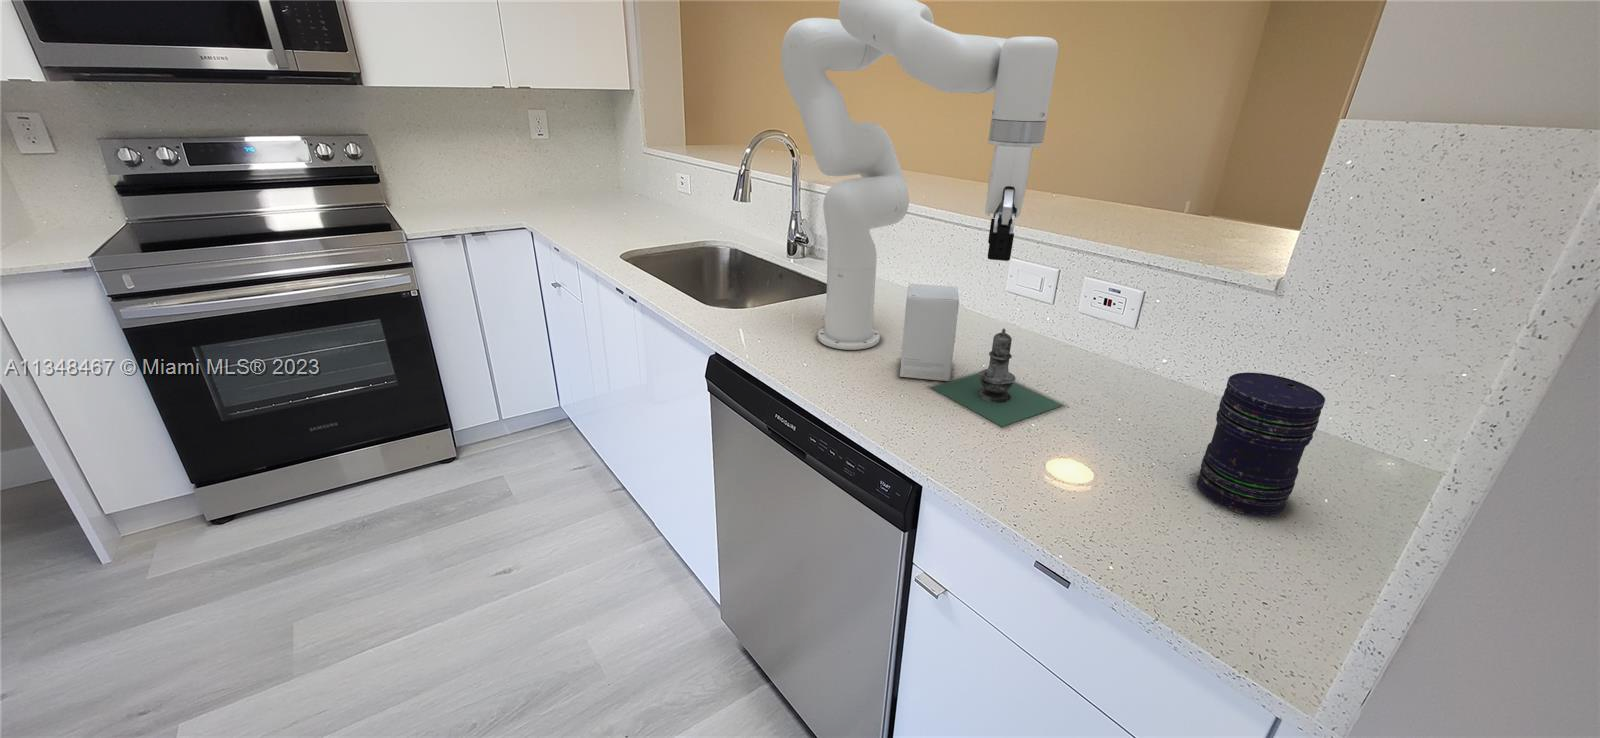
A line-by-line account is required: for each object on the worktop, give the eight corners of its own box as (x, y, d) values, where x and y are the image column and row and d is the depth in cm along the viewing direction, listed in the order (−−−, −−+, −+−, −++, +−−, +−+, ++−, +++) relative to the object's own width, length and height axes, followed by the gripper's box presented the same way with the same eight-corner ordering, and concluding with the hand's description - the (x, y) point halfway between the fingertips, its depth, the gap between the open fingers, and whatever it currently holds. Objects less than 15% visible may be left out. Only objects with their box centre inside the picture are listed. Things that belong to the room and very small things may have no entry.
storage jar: (1251, 525, 77) (1291, 414, 71) (1178, 482, 85) (1208, 379, 79) (1303, 506, 81) (1346, 399, 75) (1228, 466, 89) (1261, 367, 83)
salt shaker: (993, 406, 105) (1003, 337, 100) (968, 392, 109) (977, 325, 104) (1020, 399, 107) (1031, 331, 102) (995, 385, 112) (1004, 320, 107)
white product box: (950, 382, 113) (960, 300, 107) (899, 377, 114) (905, 296, 108) (950, 363, 121) (958, 285, 115) (902, 359, 123) (908, 282, 117)
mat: (930, 387, 111) (931, 387, 111) (989, 371, 118) (989, 370, 118) (1001, 427, 99) (1002, 426, 99) (1062, 405, 105) (1062, 405, 105)
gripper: (989, 128, 101) (974, 237, 108) (988, 137, 85) (971, 263, 93) (1040, 130, 99) (1021, 241, 106) (1048, 140, 84) (1026, 268, 91)
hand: (998, 251), depth 99 cm, fingers open, 9 cm apart
